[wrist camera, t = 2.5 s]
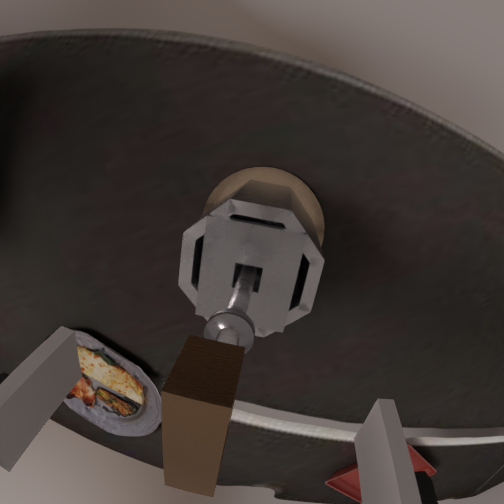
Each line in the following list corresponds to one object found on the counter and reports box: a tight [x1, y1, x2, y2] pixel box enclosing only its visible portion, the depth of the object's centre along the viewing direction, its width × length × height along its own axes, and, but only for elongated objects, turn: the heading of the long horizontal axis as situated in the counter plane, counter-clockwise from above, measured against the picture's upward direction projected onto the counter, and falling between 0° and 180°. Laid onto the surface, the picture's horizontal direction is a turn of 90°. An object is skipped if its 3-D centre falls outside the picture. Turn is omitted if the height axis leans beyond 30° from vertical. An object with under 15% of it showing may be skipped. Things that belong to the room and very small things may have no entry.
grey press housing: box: [178, 166, 325, 337], centre depth 31 cm, size 14×15×15 cm
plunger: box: [161, 220, 271, 497], centre depth 18 cm, size 7×7×19 cm
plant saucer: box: [325, 443, 437, 503], centre depth 49 cm, size 18×18×3 cm
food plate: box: [45, 329, 162, 436], centre depth 48 cm, size 25×23×4 cm
